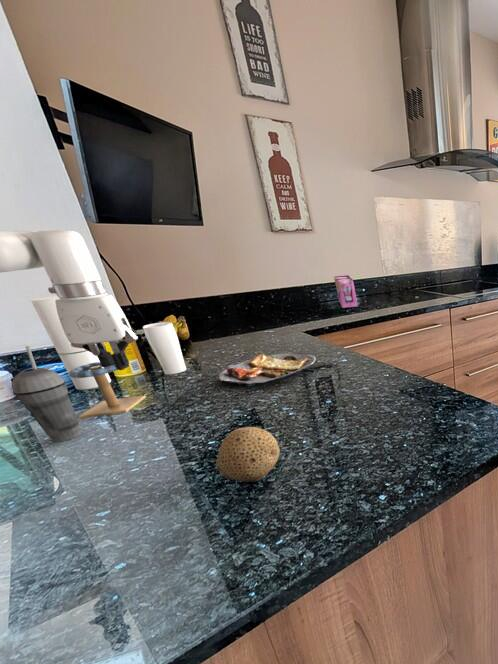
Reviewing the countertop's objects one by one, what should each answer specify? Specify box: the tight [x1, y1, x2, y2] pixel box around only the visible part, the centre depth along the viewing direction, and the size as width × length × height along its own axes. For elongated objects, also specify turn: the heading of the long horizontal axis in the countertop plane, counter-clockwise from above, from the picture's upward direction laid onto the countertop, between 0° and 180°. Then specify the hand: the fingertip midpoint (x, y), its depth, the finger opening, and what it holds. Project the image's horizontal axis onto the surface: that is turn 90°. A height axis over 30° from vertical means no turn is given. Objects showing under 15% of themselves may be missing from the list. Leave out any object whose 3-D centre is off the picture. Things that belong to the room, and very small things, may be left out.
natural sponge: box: [215, 426, 281, 483], centre depth 66 cm, size 9×9×10 cm
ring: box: [68, 362, 119, 378], centre depth 92 cm, size 9×9×1 cm
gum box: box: [333, 274, 359, 309], centre depth 209 cm, size 24×8×14 cm, turn 27°
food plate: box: [217, 352, 317, 386], centre depth 116 cm, size 25×23×4 cm
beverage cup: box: [11, 345, 83, 443], centre depth 80 cm, size 7×7×20 cm
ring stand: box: [78, 366, 147, 419], centre depth 94 cm, size 9×9×11 cm
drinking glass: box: [142, 321, 187, 375], centre depth 116 cm, size 7×7×15 cm
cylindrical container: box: [30, 295, 112, 391], centre depth 106 cm, size 7×7×25 cm
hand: (117, 368), depth 93 cm, fingers closed on ring, 1 cm apart
